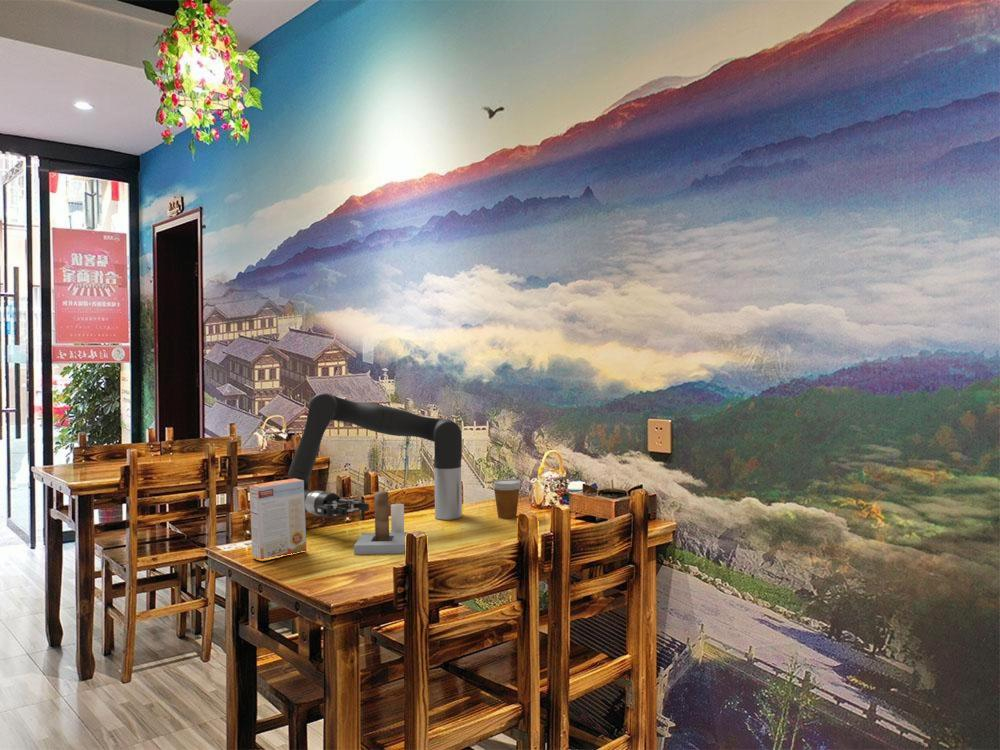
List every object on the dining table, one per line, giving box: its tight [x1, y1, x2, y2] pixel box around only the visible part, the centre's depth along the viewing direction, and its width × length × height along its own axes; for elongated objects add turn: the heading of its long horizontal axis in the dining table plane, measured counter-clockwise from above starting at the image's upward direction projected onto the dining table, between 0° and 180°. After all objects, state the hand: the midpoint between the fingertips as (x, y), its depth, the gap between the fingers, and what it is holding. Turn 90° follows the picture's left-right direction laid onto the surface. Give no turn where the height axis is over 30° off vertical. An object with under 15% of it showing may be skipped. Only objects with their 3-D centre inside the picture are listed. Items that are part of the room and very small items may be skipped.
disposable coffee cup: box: [492, 479, 521, 520], centre depth 250 cm, size 10×10×12 cm
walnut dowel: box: [373, 490, 390, 541], centre depth 214 cm, size 4×4×16 cm
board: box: [353, 531, 408, 555], centre depth 214 cm, size 14×14×2 cm
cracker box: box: [249, 478, 307, 559], centre depth 206 cm, size 14×6×21 cm, turn 134°
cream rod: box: [390, 503, 405, 533], centre depth 225 cm, size 4×4×10 cm
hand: (357, 510), depth 220 cm, fingers open, 8 cm apart
